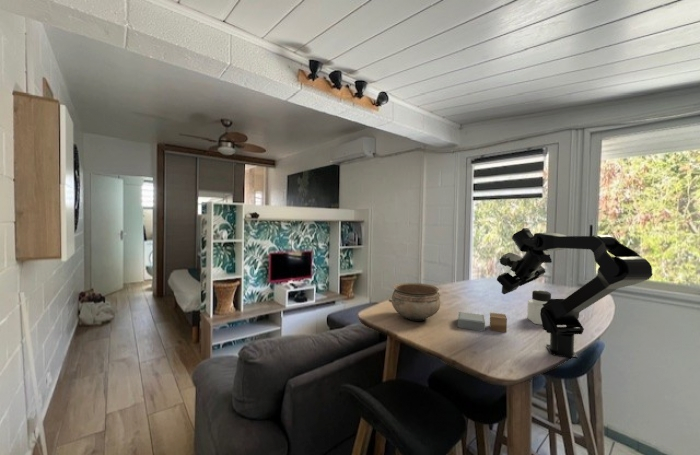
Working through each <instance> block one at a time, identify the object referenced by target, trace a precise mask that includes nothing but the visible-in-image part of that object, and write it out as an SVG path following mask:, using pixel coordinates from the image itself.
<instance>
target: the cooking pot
mask: <svg viewBox="0 0 700 455" xmlns="http://www.w3.org/2000/svg"><path fill="white" fill-rule="evenodd" d="M393 289H394V291H393V293H392V296H391V299H390V298H389V299H388V302H389V303H391V305H392V307H393V309H394V311H396V312H397V313H398V314H399V315H401V316H403V318H406V319H407V318H408V319H407V320H409V319H410V320H409V321H412V320H415V321H414V322H421V321H420V320H422V321H424V320H427V319H428V318H431V317H433V316H434V315H436V314H437V313H438V312H439V310H440V308H441V299H440V297H441V293H440V292H438V291H439V290H440V289H439V287H437V286H435V285H432V284H427V283H421V282H401V283H397V284H394V285H393Z"/></svg>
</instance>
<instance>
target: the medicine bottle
mask: <svg viewBox="0 0 700 455" xmlns="http://www.w3.org/2000/svg"><path fill="white" fill-rule="evenodd" d="M531 292H532V293H531V294H532V295H531V300H527V310H526V312H527V316H526V317H527V319H528V320H529V321H530V322H532V323H533V324H534V325H542V320H541V316H540V312H541V308H542V307H543V305H542V304H545V303H547V302H548V301H549V300H550V299H552V293H551V292H549V291H547V290H543V289H535V290H533V291H531Z"/></svg>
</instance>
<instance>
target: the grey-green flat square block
mask: <svg viewBox="0 0 700 455" xmlns="http://www.w3.org/2000/svg"><path fill="white" fill-rule="evenodd" d="M485 320H486V319H485V314H479V313H472V312H471V313H469V312H462V311H458V316H457V328H459V329H467V330H473V331H481V332H486V331H485V330H486V321H485Z"/></svg>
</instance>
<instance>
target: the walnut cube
mask: <svg viewBox="0 0 700 455" xmlns="http://www.w3.org/2000/svg"><path fill="white" fill-rule="evenodd" d="M507 324H508V318H507V315H506V314H504V313H497V312H496V313H495V312H489V328H490V331H492V332H493V331H494V332H499V333H507V328H508V327H507V326H508V325H507Z"/></svg>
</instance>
